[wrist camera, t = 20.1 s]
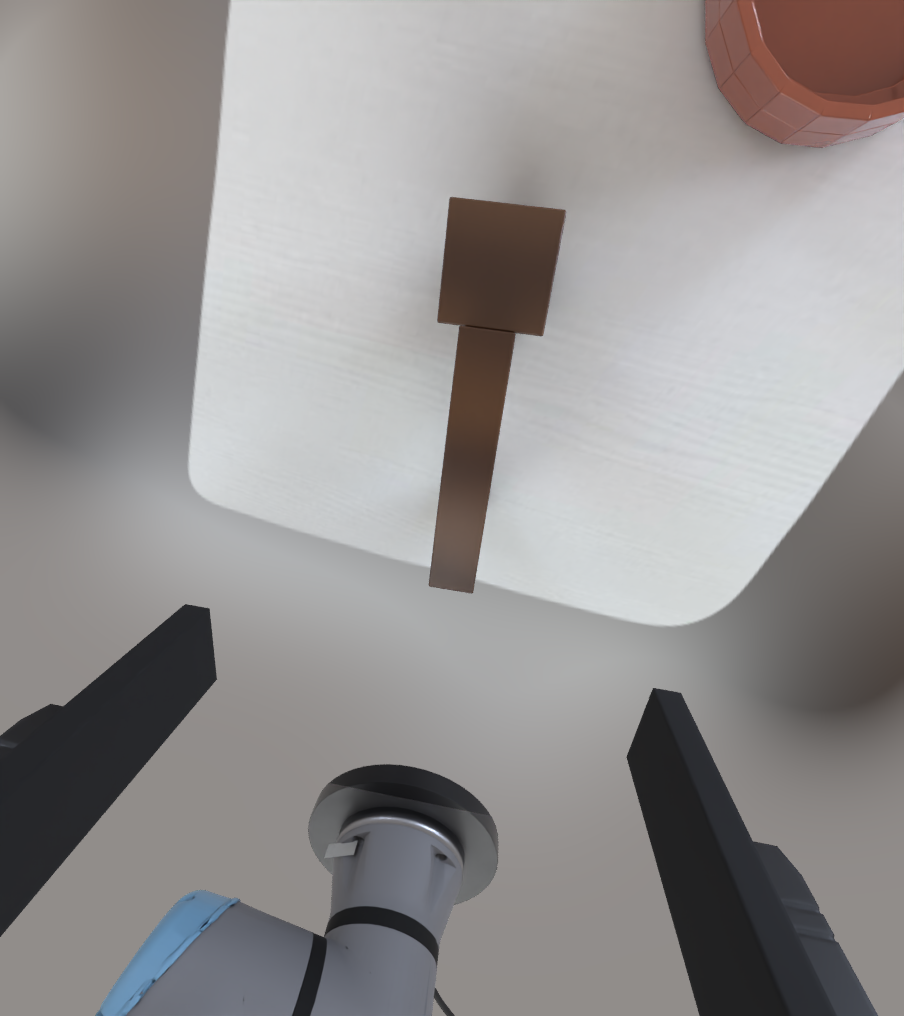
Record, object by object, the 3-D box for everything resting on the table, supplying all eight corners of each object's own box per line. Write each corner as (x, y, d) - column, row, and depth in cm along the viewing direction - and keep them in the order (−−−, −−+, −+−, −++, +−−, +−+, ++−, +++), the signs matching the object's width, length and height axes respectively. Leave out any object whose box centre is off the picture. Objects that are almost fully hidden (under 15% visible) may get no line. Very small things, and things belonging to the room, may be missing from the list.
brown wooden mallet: (500, 511, 35) (496, 598, 23) (438, 501, 35) (404, 582, 24) (547, 249, 28) (574, 194, 16) (468, 240, 28) (442, 180, 17)
